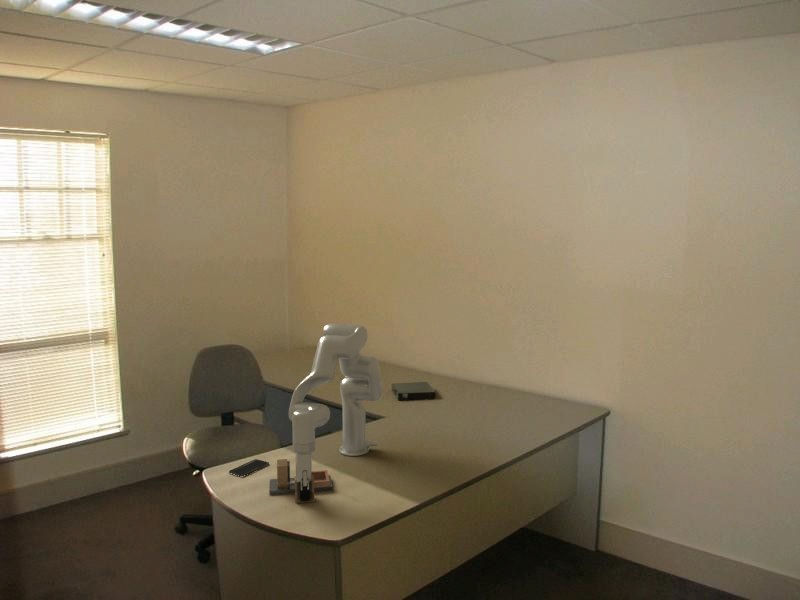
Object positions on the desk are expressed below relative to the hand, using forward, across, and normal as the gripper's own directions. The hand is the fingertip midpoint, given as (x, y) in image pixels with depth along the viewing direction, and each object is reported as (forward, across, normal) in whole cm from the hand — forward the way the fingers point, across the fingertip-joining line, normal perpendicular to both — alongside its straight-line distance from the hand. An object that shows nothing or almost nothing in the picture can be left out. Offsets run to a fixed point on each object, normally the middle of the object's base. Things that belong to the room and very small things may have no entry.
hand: (304, 496), depth 213 cm
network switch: (+2, -122, +64) cm, 138 cm away
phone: (+2, -32, -20) cm, 37 cm away
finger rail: (+1, -12, -1) cm, 12 cm away
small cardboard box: (+1, 0, 0) cm, 1 cm away
